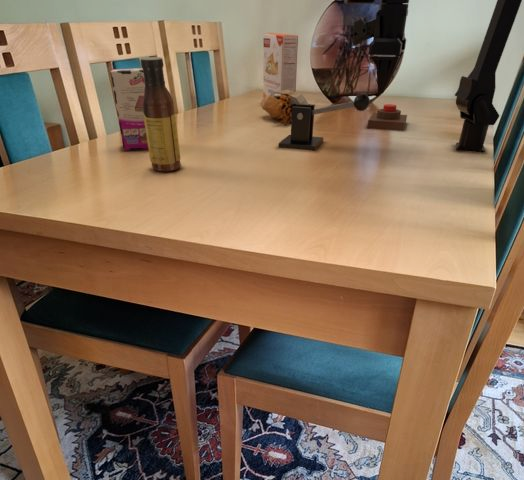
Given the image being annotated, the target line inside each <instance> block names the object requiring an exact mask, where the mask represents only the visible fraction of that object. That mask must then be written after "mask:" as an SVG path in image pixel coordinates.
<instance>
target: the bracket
mask: <svg viewBox="0 0 524 480" xmlns="http://www.w3.org/2000/svg"><path fill="white" fill-rule="evenodd" d="M315 107H316V105H315V104H310V103H308V104H296V107H295V106H293V107H292V119H291V121H290V134H288V135H287V136H286V137H284V138H283V139H281V141H279V142H278V148H279V149H288V150H289V149H291V150H301V151H314V152H315V151H317V149H318V148H319V146H320V147H321V145H322V144H323V143H324V136H314V123H315V122H314V121H315V115H311V110H314V109H316V108H315Z"/></svg>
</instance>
